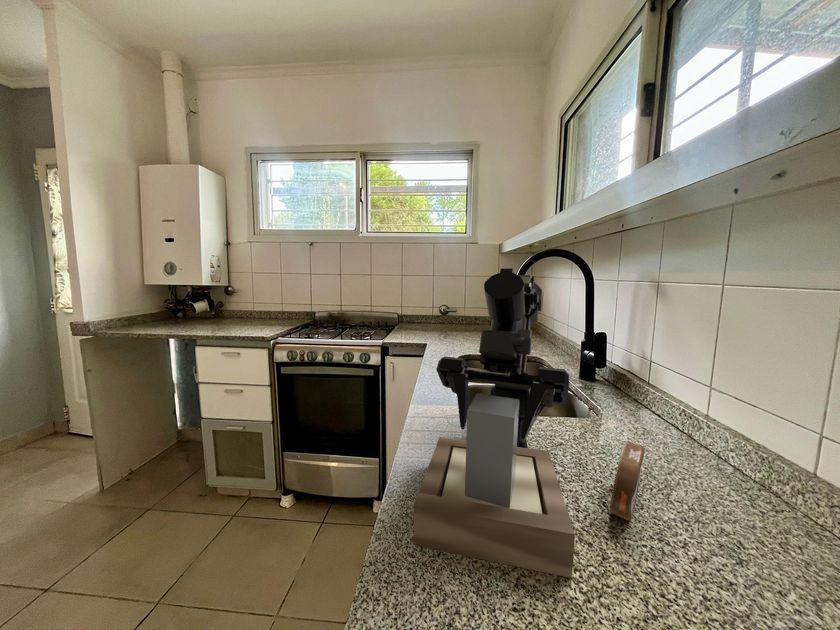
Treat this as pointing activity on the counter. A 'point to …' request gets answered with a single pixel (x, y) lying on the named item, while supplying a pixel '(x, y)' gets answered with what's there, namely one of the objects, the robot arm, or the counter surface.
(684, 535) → the counter surface
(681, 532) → the counter surface
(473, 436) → the grey rectangular block
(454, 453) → the trapdoor plate
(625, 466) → the tin
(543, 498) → the frame
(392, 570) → the counter surface
